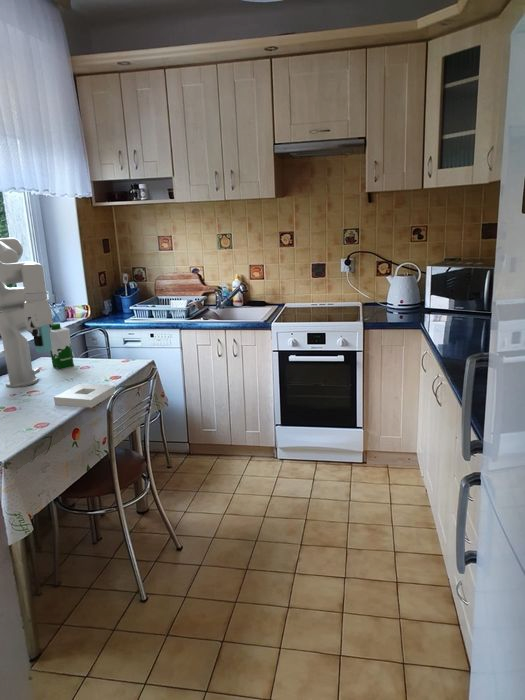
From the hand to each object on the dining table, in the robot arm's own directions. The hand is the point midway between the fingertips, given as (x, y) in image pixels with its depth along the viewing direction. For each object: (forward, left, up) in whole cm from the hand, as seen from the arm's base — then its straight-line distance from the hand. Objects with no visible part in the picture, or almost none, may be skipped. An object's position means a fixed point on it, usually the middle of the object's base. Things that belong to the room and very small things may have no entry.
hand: (43, 343), depth 202 cm
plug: (0, 0, -3) cm, 3 cm away
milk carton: (-37, -22, -21) cm, 48 cm away
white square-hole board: (-3, +16, -21) cm, 27 cm away
